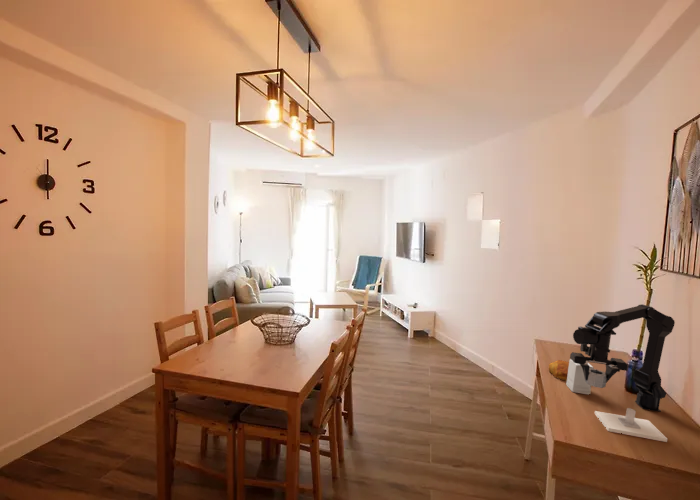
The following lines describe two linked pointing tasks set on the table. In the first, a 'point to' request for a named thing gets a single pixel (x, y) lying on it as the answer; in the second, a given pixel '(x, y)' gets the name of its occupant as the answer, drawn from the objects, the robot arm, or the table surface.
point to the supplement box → (577, 378)
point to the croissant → (559, 369)
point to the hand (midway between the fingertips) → (595, 381)
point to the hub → (596, 378)
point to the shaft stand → (630, 425)
